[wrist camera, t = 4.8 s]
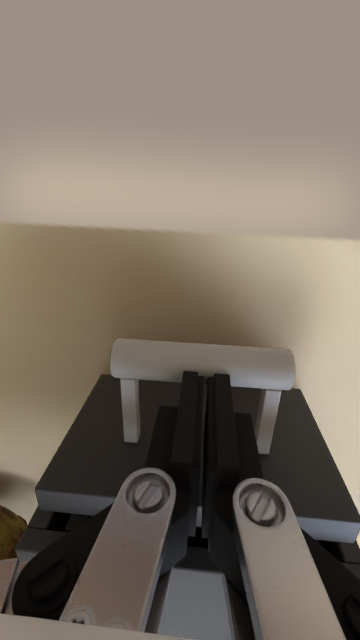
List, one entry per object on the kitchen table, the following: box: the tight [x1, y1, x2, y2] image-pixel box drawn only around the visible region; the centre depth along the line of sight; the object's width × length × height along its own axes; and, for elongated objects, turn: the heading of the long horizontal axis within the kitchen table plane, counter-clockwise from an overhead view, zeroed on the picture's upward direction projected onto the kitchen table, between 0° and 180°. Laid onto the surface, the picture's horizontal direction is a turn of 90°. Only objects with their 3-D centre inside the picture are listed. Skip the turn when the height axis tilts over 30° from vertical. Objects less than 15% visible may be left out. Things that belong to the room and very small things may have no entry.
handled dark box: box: [35, 338, 360, 548], centre depth 15 cm, size 18×11×7 cm, turn 179°
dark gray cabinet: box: [15, 505, 360, 640], centre depth 17 cm, size 15×13×9 cm
